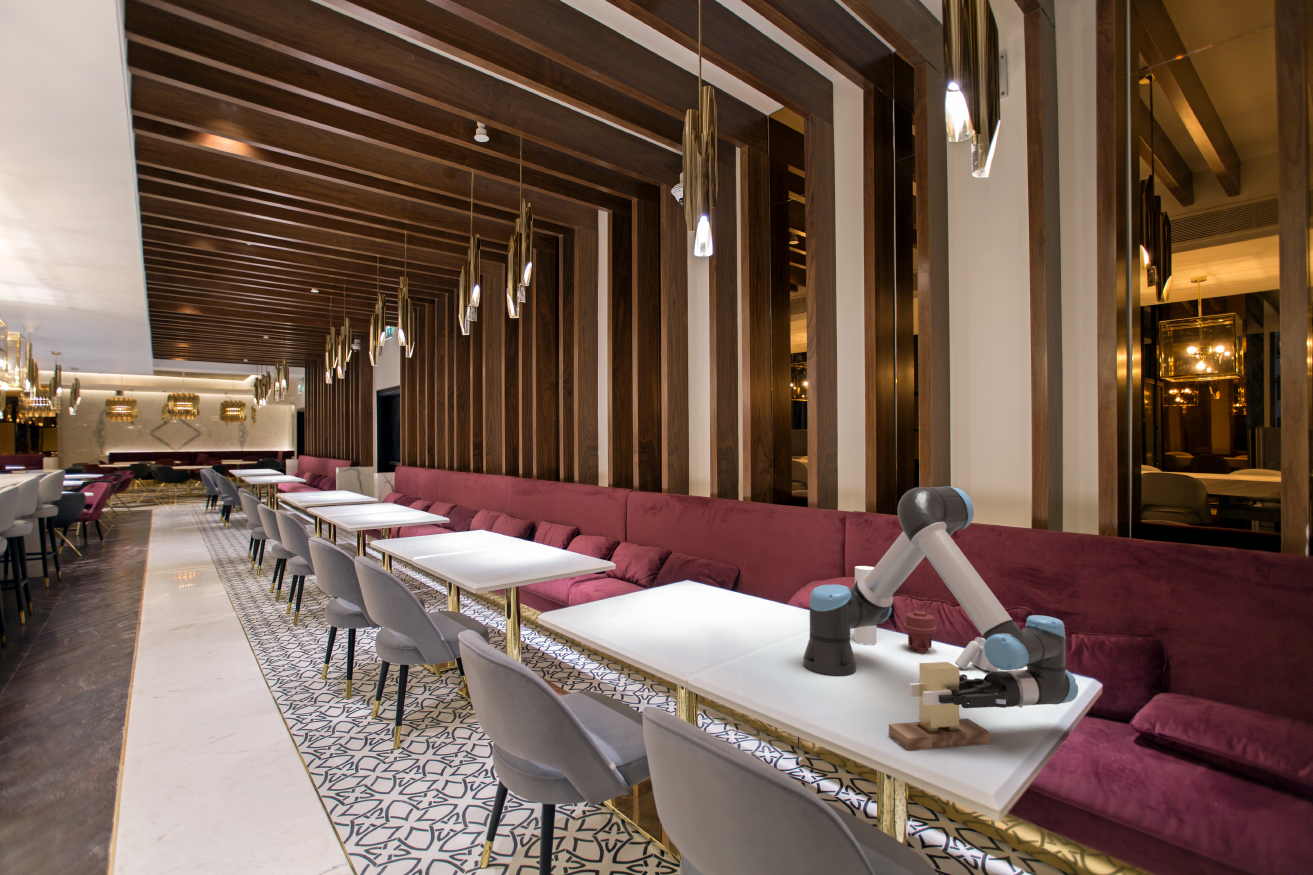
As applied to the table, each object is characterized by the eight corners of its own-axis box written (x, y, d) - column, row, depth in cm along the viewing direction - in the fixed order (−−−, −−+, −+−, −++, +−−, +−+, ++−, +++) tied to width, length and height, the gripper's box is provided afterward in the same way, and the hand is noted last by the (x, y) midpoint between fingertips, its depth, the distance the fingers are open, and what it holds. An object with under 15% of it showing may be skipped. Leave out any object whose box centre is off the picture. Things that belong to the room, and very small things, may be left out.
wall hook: (947, 662, 184) (954, 630, 184) (978, 670, 184) (985, 638, 185) (962, 671, 176) (970, 638, 176) (995, 680, 176) (1003, 646, 177)
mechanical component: (932, 647, 201) (940, 656, 191) (900, 644, 203) (906, 653, 193) (932, 609, 201) (940, 617, 192) (900, 607, 203) (906, 615, 194)
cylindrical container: (876, 639, 208) (876, 566, 209) (876, 645, 201) (877, 570, 202) (854, 637, 210) (855, 565, 211) (854, 643, 203) (854, 568, 204)
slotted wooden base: (907, 750, 128) (907, 738, 128) (888, 735, 135) (888, 723, 135) (989, 743, 132) (989, 731, 132) (967, 729, 139) (967, 718, 139)
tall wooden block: (930, 739, 131) (930, 669, 131) (919, 731, 135) (919, 663, 135) (959, 737, 132) (959, 667, 133) (947, 729, 136) (947, 661, 137)
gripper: (1040, 721, 129) (942, 728, 124) (982, 691, 145) (894, 696, 141) (1039, 685, 129) (942, 691, 124) (982, 659, 146) (894, 663, 141)
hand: (917, 694), depth 133 cm, fingers closed on tall wooden block, 4 cm apart
